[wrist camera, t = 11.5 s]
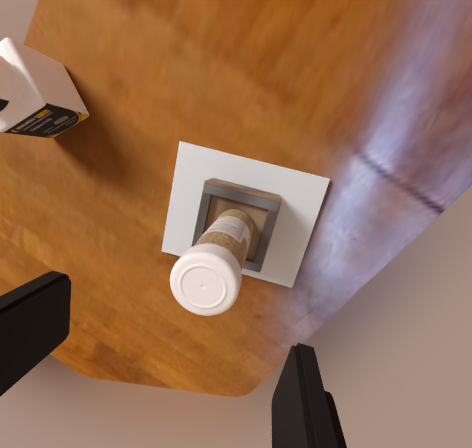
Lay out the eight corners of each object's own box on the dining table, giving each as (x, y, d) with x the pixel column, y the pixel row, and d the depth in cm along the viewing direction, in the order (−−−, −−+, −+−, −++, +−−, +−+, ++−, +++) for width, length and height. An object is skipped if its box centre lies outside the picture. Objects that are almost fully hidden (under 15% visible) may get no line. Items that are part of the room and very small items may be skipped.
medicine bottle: (52, 139, 34) (-59, 126, 22) (25, 89, 32) (-109, 48, 21) (91, 116, 32) (-7, 89, 21) (63, 63, 31) (-58, 3, 19)
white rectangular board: (329, 178, 30) (330, 178, 30) (291, 285, 35) (292, 287, 34) (181, 141, 31) (179, 141, 31) (163, 249, 36) (161, 251, 35)
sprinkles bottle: (243, 251, 28) (220, 330, 15) (209, 234, 28) (158, 299, 15) (260, 218, 27) (250, 274, 14) (224, 201, 27) (182, 241, 14)
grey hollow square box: (279, 194, 31) (282, 201, 25) (261, 256, 33) (260, 274, 28) (214, 177, 31) (202, 180, 26) (201, 239, 34) (188, 254, 28)
